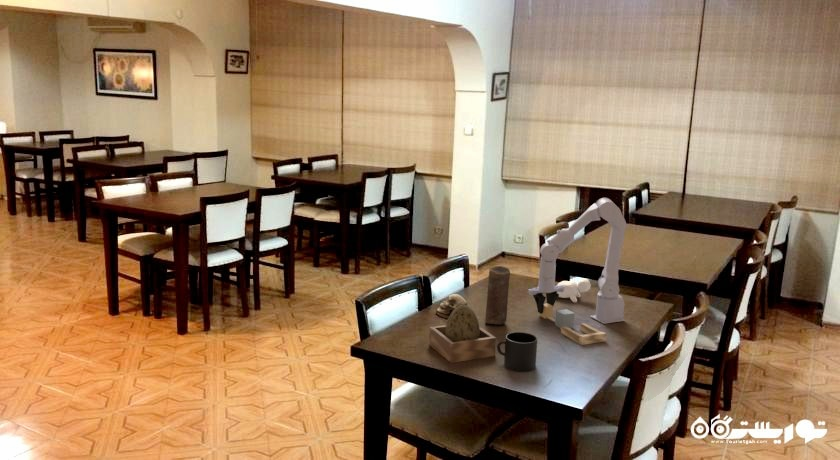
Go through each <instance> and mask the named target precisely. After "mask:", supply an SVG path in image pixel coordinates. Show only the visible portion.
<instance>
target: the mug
mask: <svg viewBox="0 0 840 460" xmlns="http://www.w3.org/2000/svg"><path fill="white" fill-rule="evenodd" d="M503 344H504V351H502V350H501V345H503ZM496 345H497V346H496V350H497V353H498V354H499V355H502V356H503V359H504V360H503V365H504V366H505V368H507V369H509V370H510V371H515V372H519V373H520V372H523V373H524V372H525V373H526V372H531V371H533V370H534V369H535V368H536V367H537V366H536V365H537V348H538V337H537V336H536V335H534V334H532V333H530V332H529V333H528V332H524V331H523V332H522V331H517V332H516V331H514V332H510V333H507V334H506V335H505V340H502V341H499V342H498V343H497V344H496Z"/></svg>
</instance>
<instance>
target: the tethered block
mask: <svg viewBox="0 0 840 460" xmlns="http://www.w3.org/2000/svg"><path fill="white" fill-rule="evenodd" d="M553 309H554V306H552V305H550V304H548V303H547V302H546V303H545V302H544V306H543V313H542V314H540V313H539V317H541V318H543V319H548V320H549V321H551V322H554V326H555V327H557V328H559V329H560V330H561V326H566V327H568V328H570V329H574V322H575V312H574V311H571V310H569V309H567V308H565V309H559V310H558V309H557V310H555V318H553V312H554V311H553Z"/></svg>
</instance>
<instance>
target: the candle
mask: <svg viewBox="0 0 840 460" xmlns="http://www.w3.org/2000/svg"><path fill="white" fill-rule="evenodd" d="M488 271H489V272H488V281H487V282H488V285H487V297H486V304H485V305H486V307H485V316H484V317H485V319H484V321H485V322H486V324H491V325H495V326H501V325H503V324H504V323H506V322H507V314H508V304H509V303H508V301H509V300H508V299H509V288H510V287H509V286H510V275H511V271H510V269H509V268H508V267H506V266H501V265H498V266H497V265H496V266H495V265H494V266H491V268H489V270H488Z"/></svg>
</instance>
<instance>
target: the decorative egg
mask: <svg viewBox="0 0 840 460" xmlns="http://www.w3.org/2000/svg"><path fill="white" fill-rule="evenodd" d="M478 319H479V318H478V316H477V315H476V312H475V311H474V310H473V308H471V307H470V306H469V305H468V304H467V305H460V306H458V307H457V308H455V309H454V310H453V312H452V313H451V314H450V316H449V318H447V321H446V324H445V325H446V328H445V335H446V337H447V338H449V339H450V340H451V341H452V342H458V341H465V340H472V339H478V338H479V334H480V327H481V326H480V324H479V323H480V322H479V320H478Z"/></svg>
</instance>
